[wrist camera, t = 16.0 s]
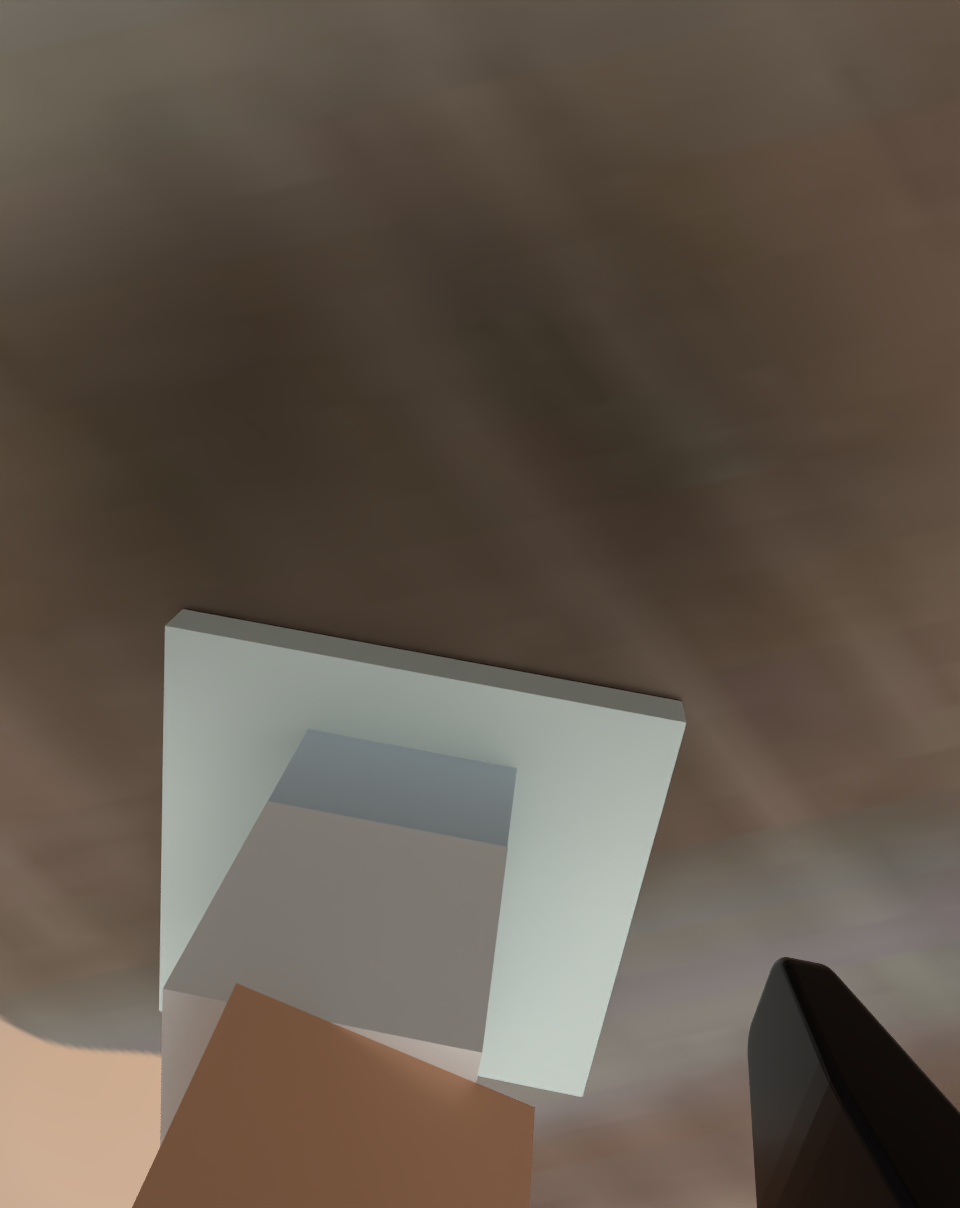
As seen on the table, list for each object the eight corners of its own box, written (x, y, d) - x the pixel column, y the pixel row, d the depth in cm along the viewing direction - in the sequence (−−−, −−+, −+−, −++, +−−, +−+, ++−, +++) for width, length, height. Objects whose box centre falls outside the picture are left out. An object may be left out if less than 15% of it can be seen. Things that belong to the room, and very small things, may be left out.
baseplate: (681, 701, 21) (702, 800, 17) (582, 1066, 26) (581, 1204, 22) (182, 609, 22) (100, 686, 18) (174, 983, 26) (106, 1106, 23)
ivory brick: (508, 846, 18) (481, 1052, 14) (454, 1118, 21) (418, 1360, 17) (267, 800, 19) (162, 988, 14) (248, 1076, 22) (158, 1303, 17)
